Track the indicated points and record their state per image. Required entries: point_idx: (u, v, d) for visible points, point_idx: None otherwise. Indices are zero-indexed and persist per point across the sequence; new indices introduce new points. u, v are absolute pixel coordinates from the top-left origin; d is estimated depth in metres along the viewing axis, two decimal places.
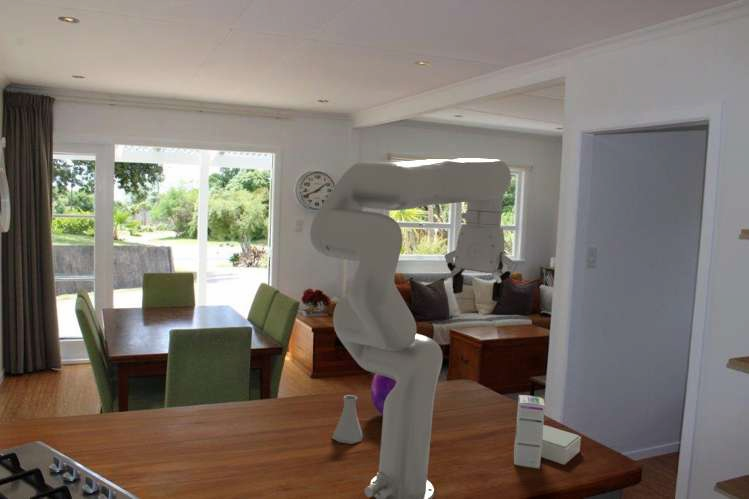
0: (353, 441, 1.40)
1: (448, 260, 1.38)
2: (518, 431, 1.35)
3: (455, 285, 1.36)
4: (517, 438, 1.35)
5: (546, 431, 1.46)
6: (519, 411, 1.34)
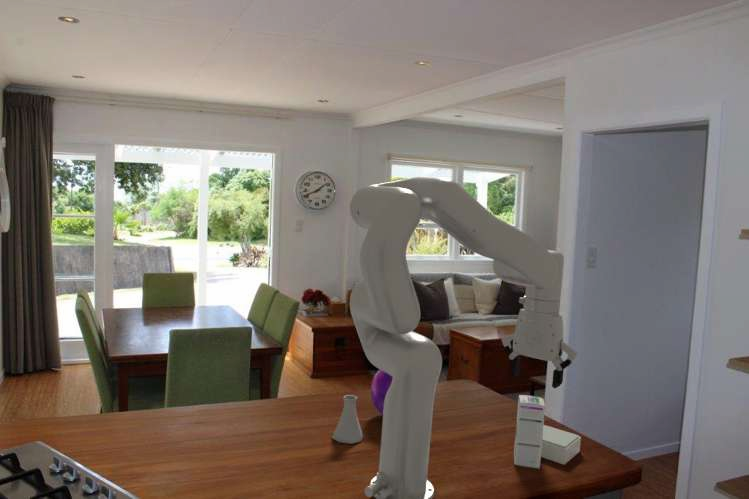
0: (353, 441, 1.40)
1: (505, 343, 1.39)
2: (518, 431, 1.35)
3: (513, 369, 1.37)
4: (517, 438, 1.35)
5: (546, 431, 1.46)
6: (519, 411, 1.34)
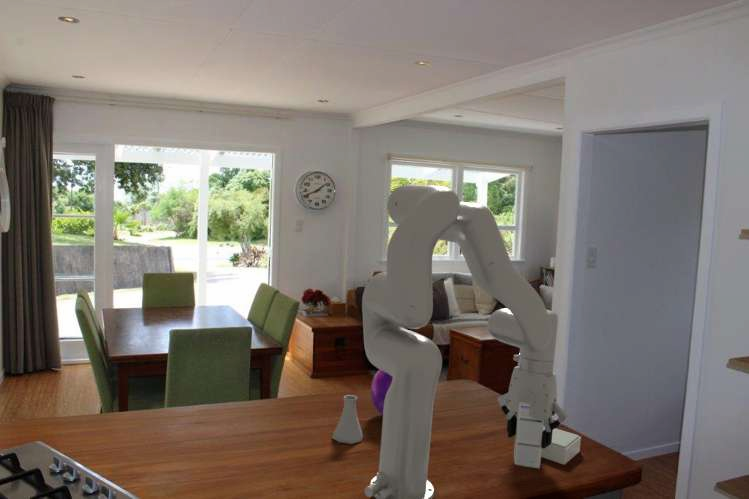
0: (353, 441, 1.40)
1: (501, 403, 1.40)
2: (518, 431, 1.35)
3: (510, 429, 1.38)
4: (517, 438, 1.35)
5: None
6: (519, 411, 1.34)
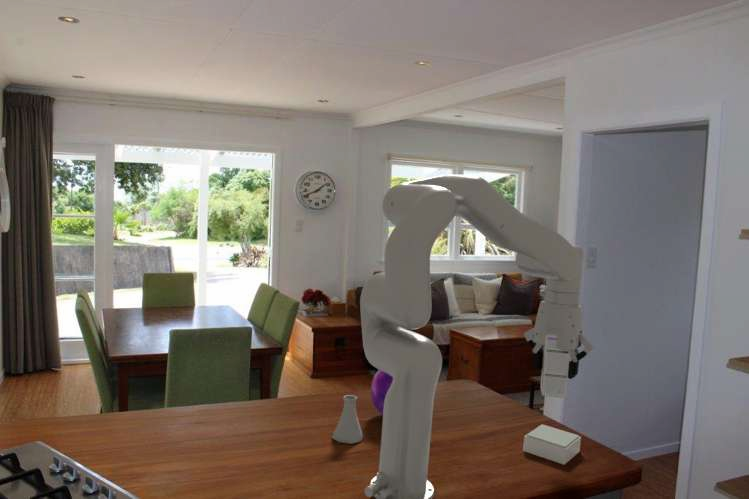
0: (353, 441, 1.40)
1: (528, 337, 1.44)
2: (545, 362, 1.39)
3: (537, 363, 1.42)
4: (544, 369, 1.39)
5: (546, 431, 1.46)
6: (546, 343, 1.38)
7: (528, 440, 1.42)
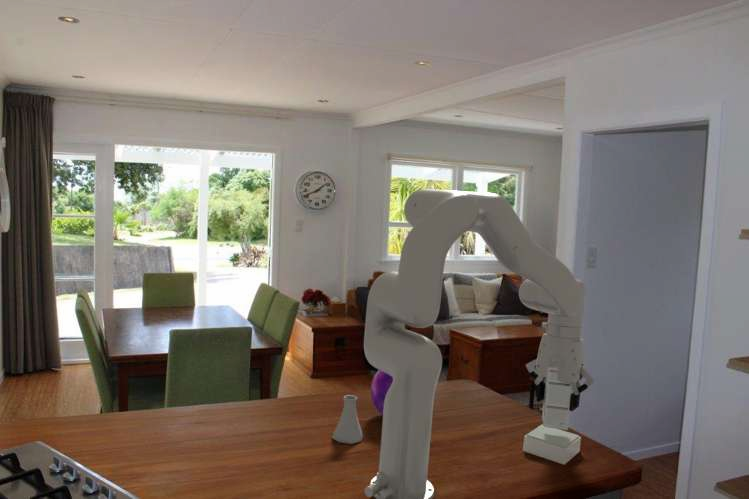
0: (353, 441, 1.40)
1: (530, 369, 1.46)
2: (547, 394, 1.41)
3: (539, 394, 1.44)
4: (546, 401, 1.41)
5: (546, 431, 1.46)
6: (548, 375, 1.40)
7: (528, 440, 1.42)
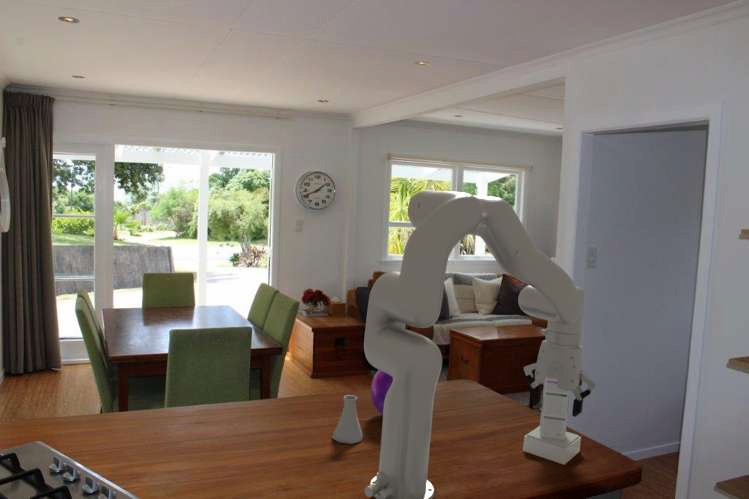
0: (353, 441, 1.40)
1: (527, 372, 1.47)
2: (544, 405, 1.41)
3: (535, 397, 1.45)
4: (543, 412, 1.41)
5: None
6: (545, 386, 1.41)
7: (528, 440, 1.42)
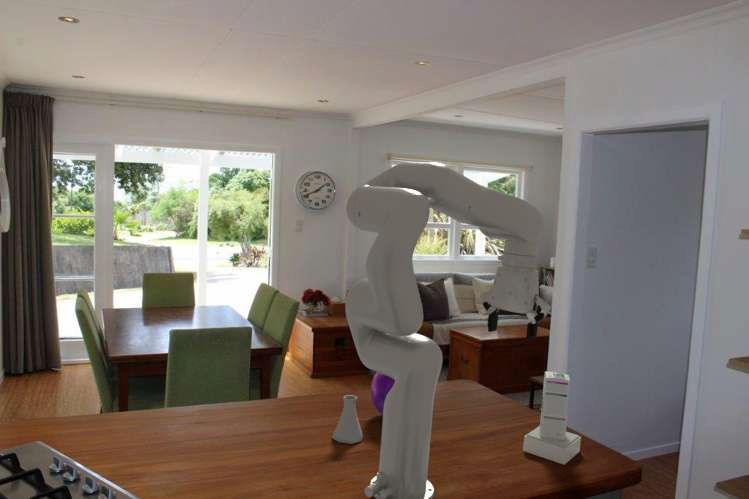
0: (353, 441, 1.40)
1: (484, 299, 1.45)
2: (544, 405, 1.41)
3: (490, 324, 1.43)
4: (543, 412, 1.41)
5: None
6: (545, 386, 1.41)
7: (528, 440, 1.42)
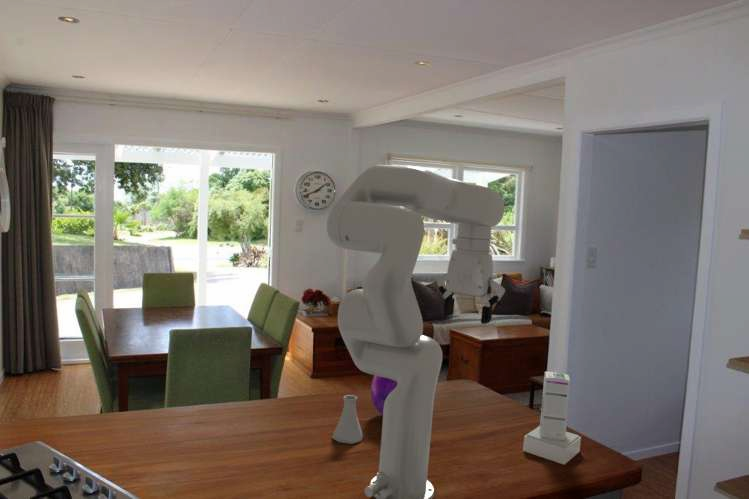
0: (353, 441, 1.40)
1: (440, 283, 1.45)
2: (544, 405, 1.41)
3: (446, 308, 1.43)
4: (543, 412, 1.41)
5: None
6: (545, 386, 1.41)
7: (528, 440, 1.42)
